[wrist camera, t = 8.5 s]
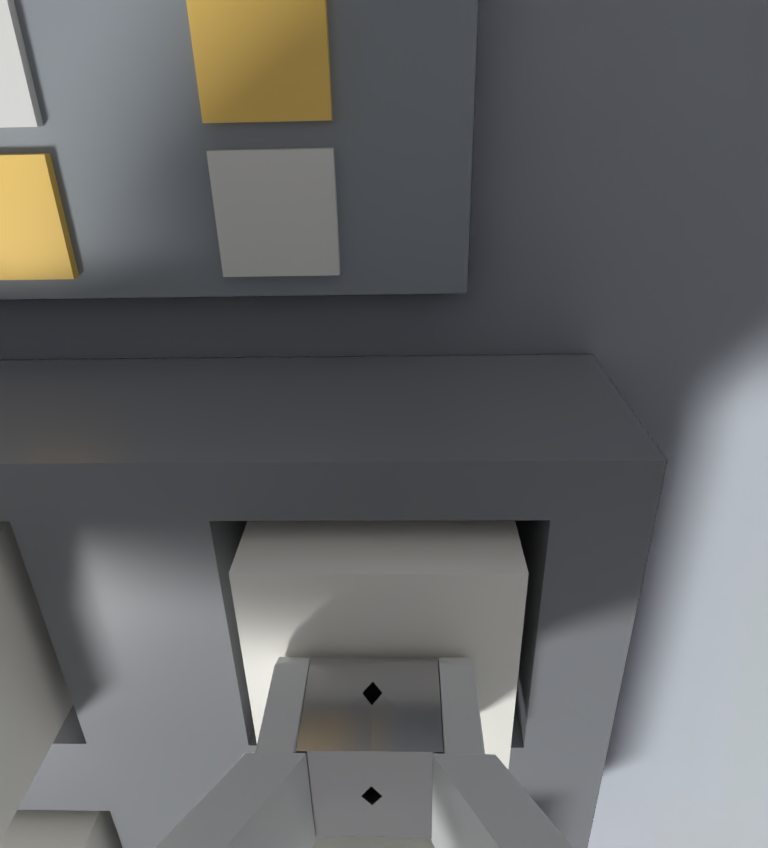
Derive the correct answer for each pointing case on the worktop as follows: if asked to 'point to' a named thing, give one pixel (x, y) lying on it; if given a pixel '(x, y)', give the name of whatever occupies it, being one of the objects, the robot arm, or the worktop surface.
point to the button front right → (385, 601)
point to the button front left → (24, 681)
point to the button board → (308, 501)
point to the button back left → (61, 830)
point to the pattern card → (235, 147)
